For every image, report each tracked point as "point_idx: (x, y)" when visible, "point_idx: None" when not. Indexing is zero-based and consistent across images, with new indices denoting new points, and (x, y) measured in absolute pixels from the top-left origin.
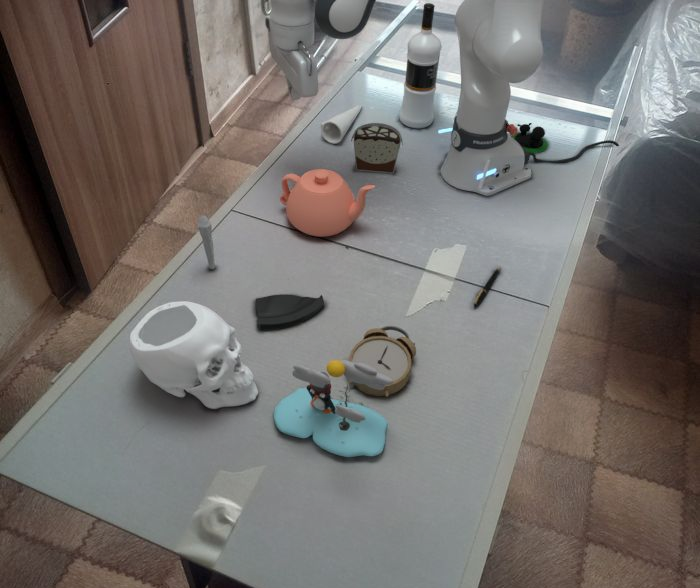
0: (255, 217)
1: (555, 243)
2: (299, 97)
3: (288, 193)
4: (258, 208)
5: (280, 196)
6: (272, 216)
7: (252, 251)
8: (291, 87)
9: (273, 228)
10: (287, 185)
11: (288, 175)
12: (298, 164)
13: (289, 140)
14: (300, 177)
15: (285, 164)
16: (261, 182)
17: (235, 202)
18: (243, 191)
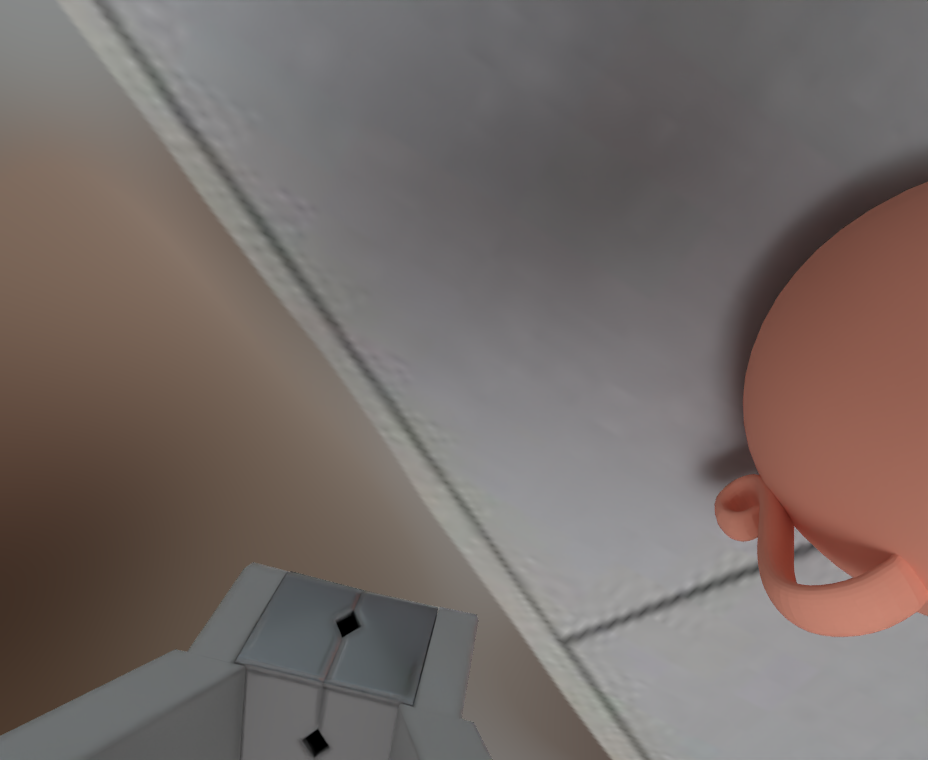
0: (676, 596)
1: None
2: (474, 632)
3: (793, 536)
4: (624, 554)
5: (734, 539)
6: (723, 538)
7: (873, 715)
8: (250, 749)
9: (805, 579)
10: (786, 558)
11: (844, 627)
12: (388, 176)
13: (121, 80)
14: (907, 561)
15: (351, 245)
16: (441, 439)
17: (520, 605)
18: (463, 540)
